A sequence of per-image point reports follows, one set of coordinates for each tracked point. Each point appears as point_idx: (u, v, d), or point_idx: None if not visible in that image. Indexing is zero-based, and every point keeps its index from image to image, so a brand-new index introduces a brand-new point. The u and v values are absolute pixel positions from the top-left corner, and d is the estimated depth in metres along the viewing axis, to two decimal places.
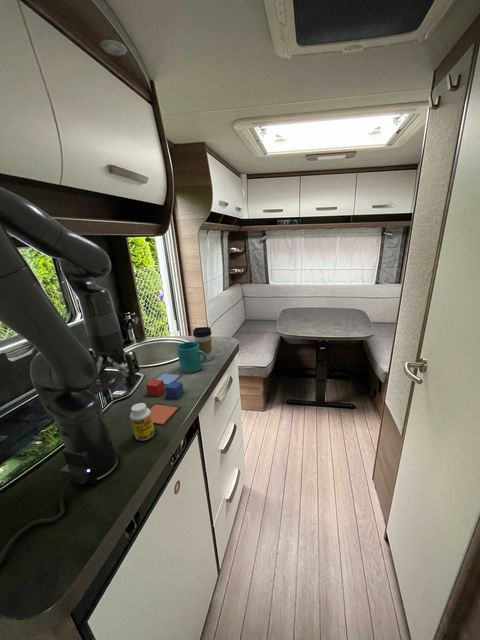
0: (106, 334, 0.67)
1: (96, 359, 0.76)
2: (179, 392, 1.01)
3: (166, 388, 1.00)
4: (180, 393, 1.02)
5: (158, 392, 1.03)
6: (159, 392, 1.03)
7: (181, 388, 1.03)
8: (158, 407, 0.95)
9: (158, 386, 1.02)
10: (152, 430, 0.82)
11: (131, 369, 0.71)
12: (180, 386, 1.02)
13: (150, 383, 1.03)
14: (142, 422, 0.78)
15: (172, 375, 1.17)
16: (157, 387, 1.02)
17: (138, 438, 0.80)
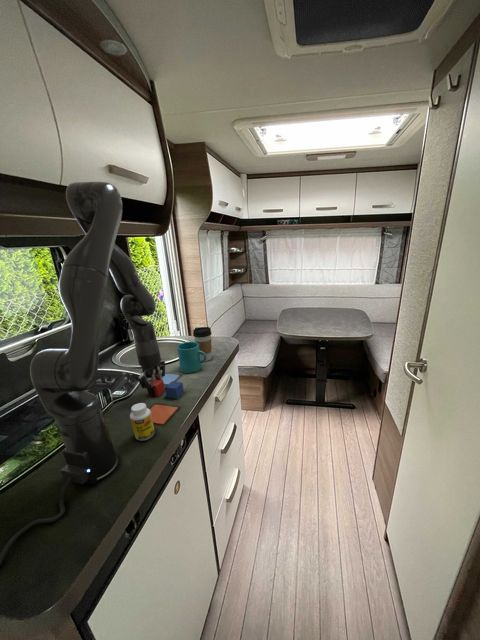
0: (137, 354, 0.96)
1: (162, 369, 1.06)
2: (179, 392, 1.01)
3: (166, 388, 1.00)
4: (180, 393, 1.02)
5: (158, 392, 1.03)
6: (159, 392, 1.03)
7: (181, 388, 1.03)
8: (158, 407, 0.95)
9: (158, 386, 1.02)
10: (152, 430, 0.82)
11: None
12: (180, 386, 1.02)
13: None
14: (142, 422, 0.78)
15: (172, 375, 1.17)
16: (157, 387, 1.02)
17: (138, 438, 0.80)
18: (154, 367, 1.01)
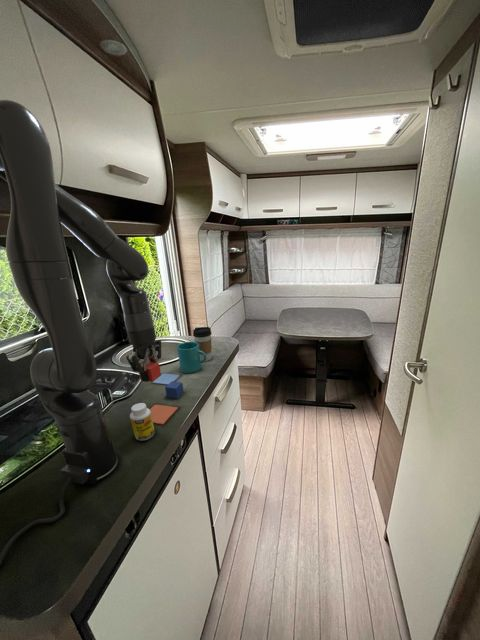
0: (126, 329, 0.79)
1: (157, 350, 0.89)
2: (179, 392, 1.01)
3: (166, 388, 1.00)
4: (180, 393, 1.02)
5: (153, 377, 0.85)
6: (154, 377, 0.86)
7: (181, 388, 1.03)
8: (158, 407, 0.95)
9: (153, 369, 0.85)
10: (152, 430, 0.82)
11: None
12: (180, 386, 1.02)
13: None
14: (142, 422, 0.78)
15: (172, 375, 1.17)
16: (151, 371, 0.84)
17: (138, 438, 0.80)
18: (148, 346, 0.83)
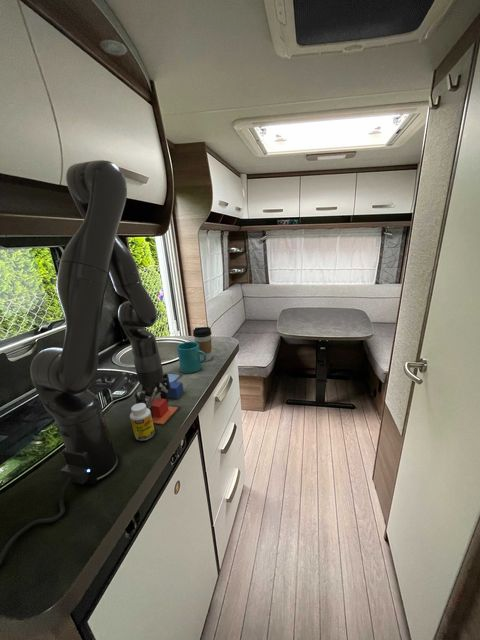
0: (136, 370, 0.83)
1: (166, 382, 0.94)
2: (179, 392, 1.01)
3: None
4: (180, 393, 1.02)
5: (161, 413, 0.90)
6: (162, 413, 0.90)
7: (181, 388, 1.03)
8: None
9: (161, 406, 0.90)
10: (152, 430, 0.82)
11: None
12: (180, 386, 1.02)
13: (152, 403, 0.90)
14: (142, 422, 0.78)
15: (172, 375, 1.17)
16: (160, 408, 0.89)
17: (138, 438, 0.80)
18: (156, 384, 0.88)
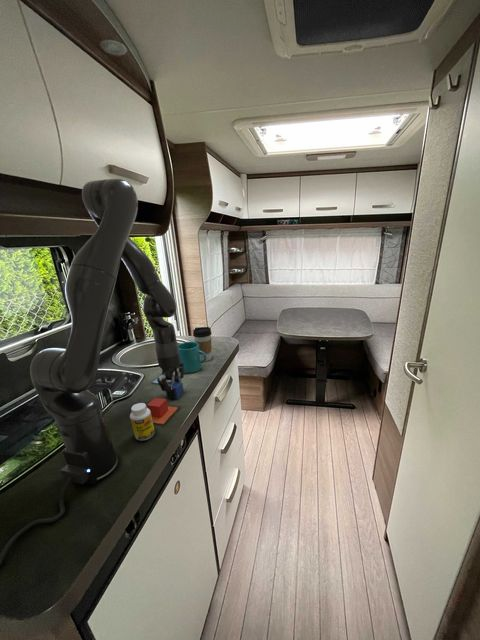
0: (157, 355, 0.95)
1: (180, 371, 1.04)
2: (179, 392, 1.01)
3: None
4: (180, 393, 1.02)
5: (161, 413, 0.90)
6: (162, 413, 0.90)
7: (181, 388, 1.03)
8: None
9: (161, 406, 0.90)
10: (152, 430, 0.82)
11: None
12: (180, 386, 1.02)
13: (152, 403, 0.90)
14: (142, 422, 0.78)
15: None
16: (160, 408, 0.89)
17: (138, 438, 0.80)
18: (174, 369, 0.99)
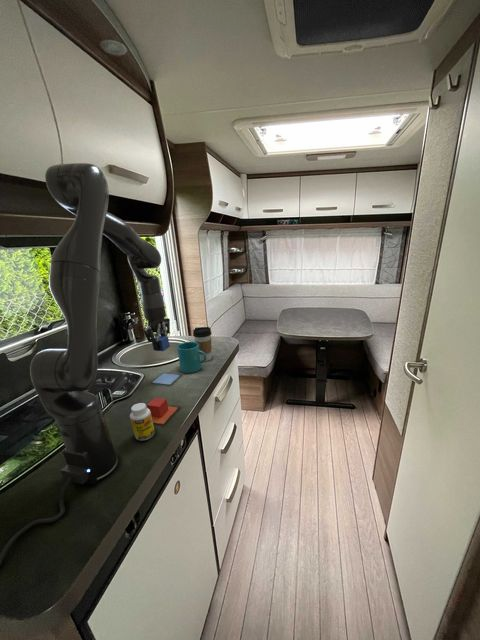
0: None
1: (166, 326, 1.09)
2: (165, 345, 1.06)
3: None
4: (166, 346, 1.07)
5: (161, 413, 0.90)
6: (162, 413, 0.90)
7: (167, 342, 1.08)
8: None
9: (161, 406, 0.90)
10: (152, 430, 0.82)
11: None
12: (166, 339, 1.07)
13: (152, 403, 0.90)
14: (142, 422, 0.78)
15: (172, 375, 1.17)
16: (160, 408, 0.89)
17: (138, 438, 0.80)
18: (159, 322, 1.04)
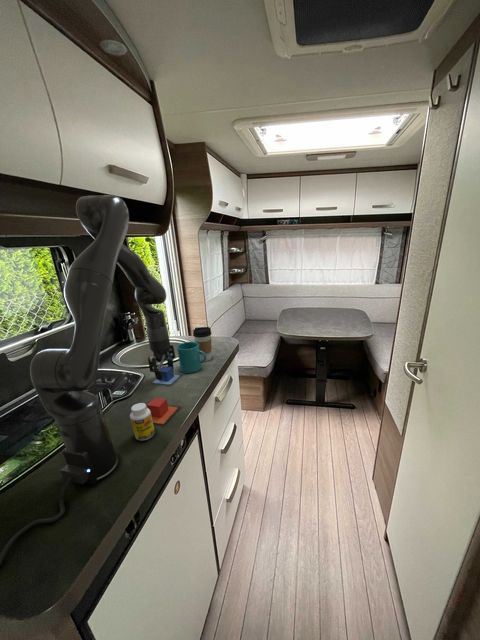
0: (148, 339, 1.05)
1: None
2: (169, 375, 1.13)
3: None
4: (171, 376, 1.14)
5: (161, 413, 0.90)
6: (162, 413, 0.90)
7: (171, 372, 1.14)
8: None
9: (161, 406, 0.90)
10: (152, 430, 0.82)
11: None
12: (171, 370, 1.13)
13: (152, 403, 0.90)
14: (142, 422, 0.78)
15: None
16: (160, 408, 0.89)
17: (138, 438, 0.80)
18: (164, 352, 1.09)
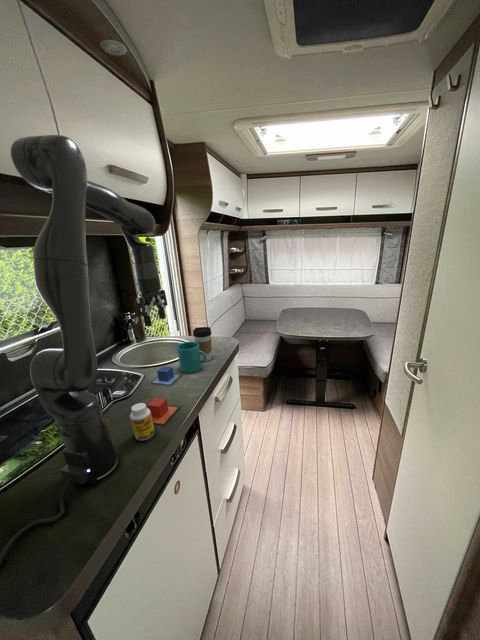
0: None
1: (163, 299, 1.02)
2: (169, 375, 1.13)
3: (158, 372, 1.11)
4: (171, 376, 1.14)
5: (161, 413, 0.90)
6: (162, 413, 0.90)
7: (171, 372, 1.14)
8: None
9: (161, 406, 0.90)
10: (152, 430, 0.82)
11: None
12: (171, 370, 1.13)
13: (152, 403, 0.90)
14: (142, 422, 0.78)
15: None
16: (160, 408, 0.89)
17: (138, 438, 0.80)
18: (154, 295, 0.96)
